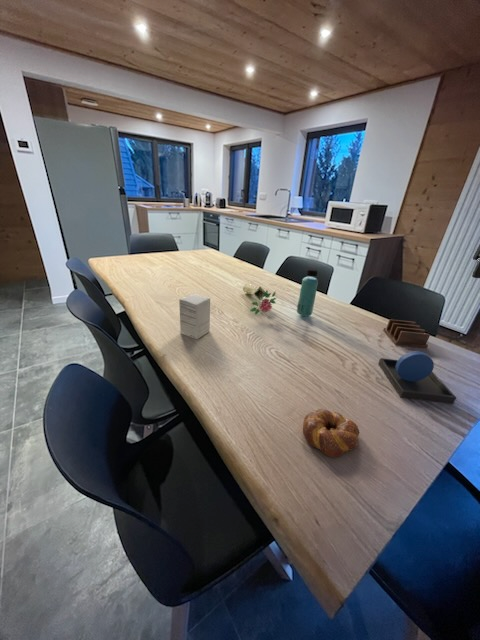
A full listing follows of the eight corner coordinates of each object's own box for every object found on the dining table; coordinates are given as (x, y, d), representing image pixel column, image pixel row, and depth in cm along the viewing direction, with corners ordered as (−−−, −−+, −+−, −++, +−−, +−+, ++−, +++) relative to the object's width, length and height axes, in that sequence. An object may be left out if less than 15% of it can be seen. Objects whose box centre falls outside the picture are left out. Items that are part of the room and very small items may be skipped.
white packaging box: (193, 325, 95) (193, 292, 90) (210, 331, 92) (211, 297, 86) (179, 333, 89) (178, 298, 84) (196, 340, 86) (196, 304, 81)
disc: (428, 376, 74) (432, 349, 71) (431, 380, 73) (435, 352, 69) (394, 379, 76) (396, 352, 72) (396, 382, 74) (399, 356, 71)
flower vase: (253, 308, 133) (280, 325, 100) (230, 301, 129) (251, 317, 96) (261, 286, 131) (291, 296, 98) (238, 278, 127) (261, 286, 94)
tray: (421, 368, 81) (424, 363, 80) (453, 403, 67) (456, 397, 66) (378, 363, 82) (380, 358, 81) (400, 397, 68) (403, 391, 67)
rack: (411, 333, 103) (416, 321, 101) (427, 348, 93) (432, 335, 91) (383, 330, 104) (387, 318, 101) (395, 344, 94) (400, 331, 91)
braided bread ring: (342, 414, 61) (346, 401, 60) (370, 456, 52) (376, 443, 50) (293, 417, 59) (296, 404, 58) (312, 461, 50) (316, 448, 48)
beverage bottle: (313, 315, 111) (323, 269, 103) (308, 321, 106) (318, 272, 97) (298, 311, 114) (307, 266, 105) (293, 316, 109) (301, 269, 100)
